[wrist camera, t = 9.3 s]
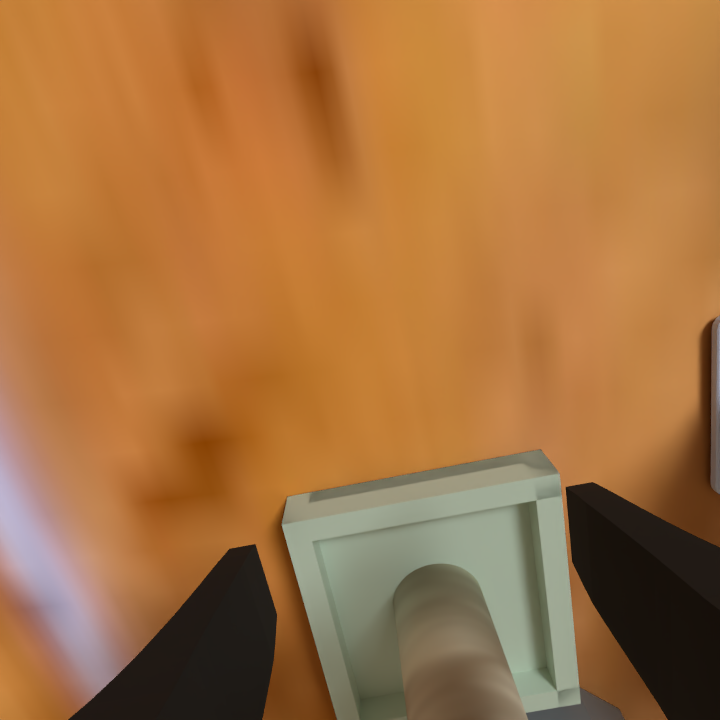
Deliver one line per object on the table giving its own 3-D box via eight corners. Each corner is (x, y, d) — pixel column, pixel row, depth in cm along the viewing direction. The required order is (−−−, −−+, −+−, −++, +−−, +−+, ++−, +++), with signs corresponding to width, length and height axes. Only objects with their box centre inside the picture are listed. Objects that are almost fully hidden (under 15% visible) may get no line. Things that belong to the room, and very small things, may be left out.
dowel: (493, 571, 22) (589, 804, 13) (468, 642, 23) (542, 900, 14) (405, 556, 22) (444, 786, 13) (384, 629, 23) (408, 885, 14)
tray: (540, 449, 21) (559, 473, 19) (562, 665, 25) (580, 703, 23) (287, 496, 22) (281, 524, 20) (344, 702, 25) (343, 743, 23)
